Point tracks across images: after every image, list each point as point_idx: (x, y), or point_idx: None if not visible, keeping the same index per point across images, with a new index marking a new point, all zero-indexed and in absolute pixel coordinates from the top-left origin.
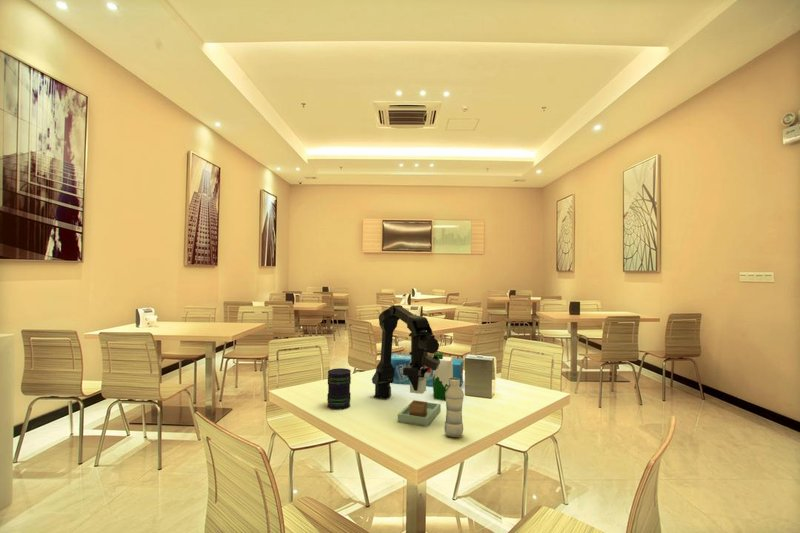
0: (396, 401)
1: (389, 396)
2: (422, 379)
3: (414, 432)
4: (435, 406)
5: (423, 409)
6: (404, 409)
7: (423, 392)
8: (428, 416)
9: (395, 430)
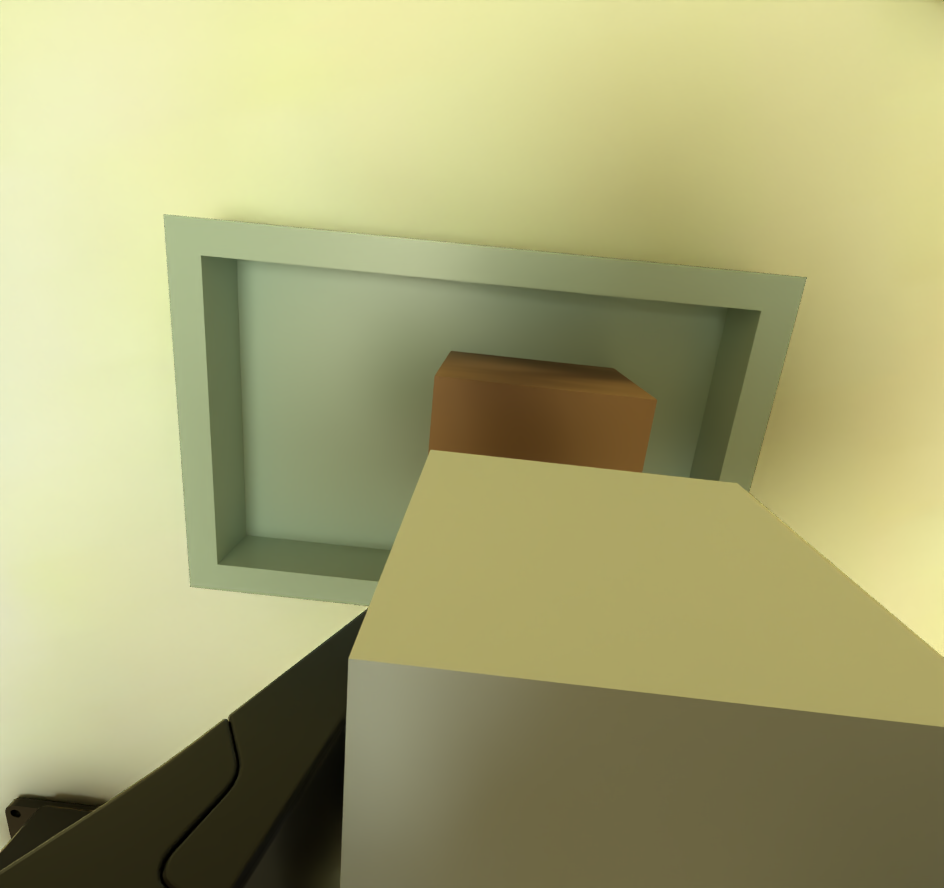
0: (147, 722)
1: (63, 804)
2: (728, 764)
3: (928, 381)
4: (218, 288)
5: (609, 385)
6: None
7: (628, 473)
8: (721, 282)
9: (891, 563)
